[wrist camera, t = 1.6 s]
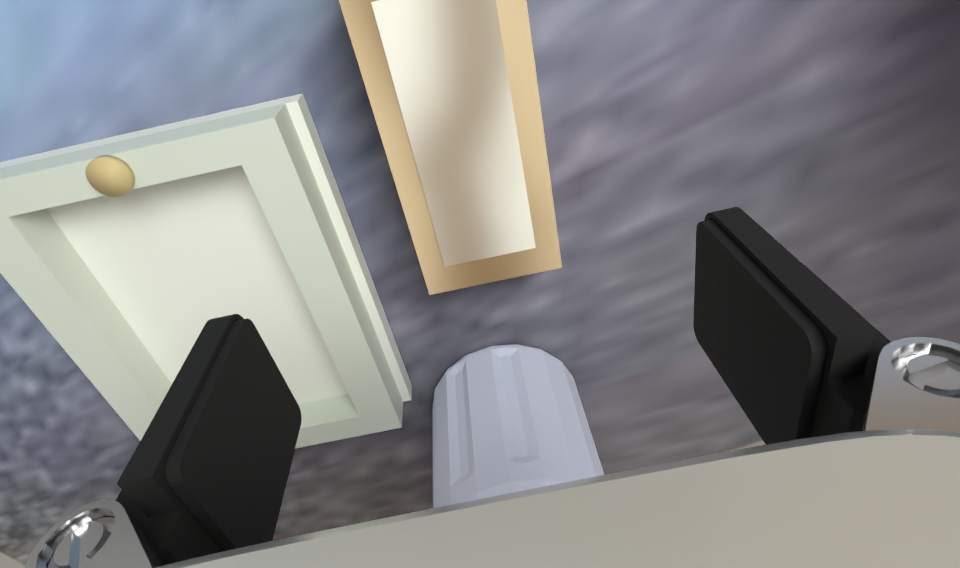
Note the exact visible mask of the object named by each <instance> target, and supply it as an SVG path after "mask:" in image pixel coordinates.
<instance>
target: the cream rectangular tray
mask: <svg viewBox="0 0 960 568" xmlns="http://www.w3.org/2000/svg"><path fill="white" fill-rule="evenodd" d="M0 273H1V274H2V275H3V277H4V278H5V279H6V280H7V281H8V283H9V284H10V285H11V286H12V287H13V289H14V290H15V291H16V292H17V293H18V295H19V296H20V297H21V298H22V299H23V301H24V302H25V303H26V304H27V305H28V307H29V308H30V309H31V310H32V311H33V313H34V314H35V315H36V316H37V317H38V319H39V320H40V321H41V322H42V323H43V325H44V326H45V327H46V328H47V329H48V331H49V332H50V333H51V334H52V335H53V337H54V338H55V339H56V340H57V341H58V343H59V344H60V345H61V346H62V347H63V349H64V350H65V351H66V352H67V353H68V355H69V356H70V357H71V358H72V359H73V361H74V362H75V363H76V364H77V365H78V367H79V368H80V369H81V370H82V371H83V373H84V374H85V375H86V376H87V377H88V379H89V380H90V381H91V382H92V384H93V385H94V386H95V387H96V388H97V390H98V391H99V392H100V393H101V394H102V396H103V397H104V398H105V399H106V400H107V402H108V403H109V404H110V405H111V406H112V408H113V409H114V410H115V411H116V412H117V414H118V415H119V416H120V417H121V418H122V420H123V421H124V422H125V423H126V424H127V426H128V427H129V428H130V429H131V430H132V432H133V433H134V434H135V435H136V436H137V438H138V439H139V440H140V441H141V439H142V437H143V436H144V434H145V432H146V430H147V428H148V427H149V425H150V423H151V421H152V419H153V418H154V416H155V414H156V412H157V410H158V409H159V407H160V405H161V403H162V401H163V400H164V398H165V396H166V394H167V392H168V391H169V389H170V387H171V385H172V383H173V381H174V380H175V378H176V376H177V374H178V372H179V371H180V369H181V367H182V365H183V363H184V362H185V360H186V358H187V356H188V354H189V353H190V351H191V349H192V347H193V345H194V344H195V342H196V340H197V338H198V336H199V335H200V333H201V331H202V329H203V327H204V326H205V324H206V322H207V321H208V320H210V319H214V318H219V317H223V316H228V315H233V314H239V315H241V316H242V317H243V318H244V319H250V320H251V321H252V322H253V323H254V325H255V327H256V329H257V330H258V332H259V334H260V336H261V338H262V340H263V341H264V343H265V345H266V347H267V349H268V350H269V352H270V354H271V356H272V358H273V360H274V361H275V363H276V365H277V367H278V369H279V371H280V372H281V374H282V376H283V378H284V380H285V381H286V383H287V385H288V387H289V389H290V391H291V392H292V394H293V396H294V398H295V400H296V402H297V403H298V405H299V407H300V411H301V416H302V421H301V426H300V430H299V434H298V438H297V443H296V447H295V448H300V447H305V446H311V445H316V444H321V443H326V442H331V441H336V440H341V439H346V438H351V437H356V436H361V435H366V434H371V433H377V432H382V431H387V430H392V429H397V428H402V417H403V402H405V401H410V400H411V399H412V385H411V382H410V379H409V377H408V374H407V371H406V369H405V366H404V363H403V361H402V358H401V355H400V352H399V350H398V347H397V344H396V342H395V339H394V336H393V334H392V331H391V328H390V326H389V323H388V320H387V318H386V315H385V312H384V310H383V307H382V304H381V302H380V299H379V296H378V293H377V291H376V288H375V285H374V283H373V280H372V277H371V275H370V272H369V269H368V267H367V264H366V261H365V259H364V256H363V253H362V251H361V248H360V245H359V243H358V240H357V237H356V234H355V232H354V229H353V226H352V224H351V221H350V218H349V216H348V213H347V210H346V208H345V205H344V202H343V200H342V197H341V194H340V192H339V189H338V186H337V183H336V181H335V178H334V175H333V173H332V170H331V167H330V165H329V162H328V159H327V157H326V154H325V151H324V149H323V146H322V143H321V141H320V138H319V135H318V133H317V130H316V127H315V124H314V122H313V119H312V116H311V114H310V111H309V108H308V106H307V103H306V100H305V98H304V95H303V93H302V94H298V95H294V96H289V97H285V98H280V99H276V100H272V101H267V102H263V103H258V104H254V105H250V106H245V107H241V108H236V109H232V110H228V111H223V112H219V113H214V114H210V115H206V116H201V117H197V118H192V119H188V120H184V121H179V122H175V123H170V124H166V125H162V126H157V127H153V128H148V129H144V130H140V131H135V132H131V133H126V134H122V135H118V136H113V137H109V138H104V139H100V140H96V141H91V142H87V143H82V144H78V145H74V146H69V147H65V148H60V149H56V150H52V151H47V152H43V153H38V154H34V155H30V156H25V157H21V158H16V159H12V160H8V161H3V162H0Z"/></svg>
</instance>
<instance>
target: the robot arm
mask: <svg viewBox="0 0 960 568" xmlns="http://www.w3.org/2000/svg"><path fill="white" fill-rule="evenodd" d="M694 331H695V335H696V338H697V340H698V342H699V344H700V345H701V347H702V348H703V350H704V351H705V353H706V354H707V356H708V357H709V359H710V360H711V362H712V363H713V365H714V366H715V368H716V370H717V371H718V373H719V374H720V376H721V377H722V379H723V380H724V382H725V383H726V385H727V386H728V388H729V389H730V391H731V392H732V394H733V395H734V397H735V398H736V400H737V401H738V403H739V404H740V406H741V408H742V409H743V411H744V412H745V414H746V415H747V417H748V418H749V420H750V421H751V423H752V424H753V426H754V427H755V429H756V430H757V432H758V433H759V435H760V436H761V438H762V439H763V441H764V442H765V444H766V445H763V446H757V447H752V448H745V449H740V450H734V451H728V452H722V453H717V454H711V455H706V456H700V457H695V458H690V459H685V460H679V461H674V462H669V463H664V464H658V465H653V466H648V467H643V468H638V469H632V470H627V471H622V472H617V473H611V474H606V475H601V476H596V477H590V478H585V479H580V480H575V481H570V482H564V483H559V484H554V485H549V486H544V487H539V488H534V489H529V490H524V491H518V492H513V493H508V494H503V495H498V496H493V497H488V498H483V499H478V500H473V501H468V502H463V503H457V504H452V505H447V506H442V507H437V508H432V509H427V510H422V511H417V512H412V513H407V514H402V515H397V516H392V517H387V518H382V519H377V520H372V521H367V522H362V523H357V524H353V525H348V526H343V527H338V528H333V529H328V530H323V531H318V532H313V533H308V534H303V535H298V536H293V537H288V538H283V539H278V540H274V541H272V539H273V535H274V531H275V527H276V523H277V519H278V515H279V511H280V507H281V503H282V499H283V495H284V491H285V487H286V483H287V479H288V475H289V471H290V467H291V463H292V459H293V455H294V451H295V447H296V443H297V438H298V434H299V430H300V426H301V421H302V416H301V411H300V407H299V405H298V403H297V402H296V400H295V398H294V396H293V394H292V392H291V391H290V389H289V387H288V385H287V383H286V381H285V380H284V378H283V376H282V374H281V372H280V371H279V369H278V367H277V365H276V363H275V361H274V360H273V358H272V356H271V354H270V352H269V350H268V349H267V347H266V345H265V343H264V341H263V340H262V338H261V336H260V334H259V332H258V330H257V329H256V327H255V325H254V323H253V322H252V321H251V320H250V319H244V318H243V317H242V316H241V315H239V314H233V315H228V316H223V317H219V318H214V319H210V320H208V321H207V322H206V324H205V326H204V327H203V329H202V331H201V333H200V335H199V336H198V338H197V340H196V342H195V344H194V345H193V347H192V349H191V351H190V353H189V354H188V356H187V358H186V360H185V362H184V363H183V365H182V367H181V369H180V371H179V372H178V374H177V376H176V378H175V380H174V381H173V383H172V385H171V387H170V389H169V391H168V392H167V394H166V396H165V398H164V400H163V401H162V403H161V405H160V407H159V409H158V410H157V412H156V414H155V416H154V418H153V419H152V421H151V423H150V425H149V427H148V428H147V430H146V432H145V434H144V436H143V437H142V439H141V441H140V443H139V445H138V446H137V448H136V450H135V452H134V454H133V455H132V457H131V459H130V461H129V463H128V465H127V466H126V468H125V470H124V472H123V474H122V475H121V477H120V479H119V481H118V483H117V484H118V486H119V487H120V488H121V489H122V490H121V492H120V494H119V496H118V498H117V500H116V501H113V500H109V499H108V500H100V501H95V502H92V503H90V504H87V505H84V506H82V507H80V508H78V509H77V510H75V511H73V512H71V513H70V514H68V515H67V516H65V517H64V518H63V519H61V520H60V521H59V522H58V523H56V524H55V525H54V526H53V527H52V528H51V529H50V530H49V531H48V532H47V533H46V534H45V535H44V536H43V537H42V538H41V539H40V540H39V542H38V543H37V545H36V546H35V547H34V549H33V550H32V552H31V553H30V556H29V558H28V561H27V563H26V565H25V568H960V344H958V343H955V342H951V341H947V340H944V339H939V338H930V337H906V338H902V339H898V340H895V341H892V342H890V341H889V340H888V339H887V338H886V337H885V336H883V335H882V334H881V333H880V332H879V331H878V330H877V329H876V328H874V327H873V326H872V325H871V324H870V323H869V322H868V321H867V320H865V319H864V318H863V317H862V316H861V315H860V314H859V313H858V312H856V311H855V310H854V309H853V308H852V307H851V306H850V305H849V304H847V303H846V302H845V301H844V300H843V299H842V298H841V297H840V296H839V295H837V294H836V293H835V292H834V291H833V290H832V289H831V288H830V287H828V286H827V285H826V284H825V283H824V282H823V281H822V280H821V279H819V278H818V277H817V276H816V275H815V274H814V273H813V272H812V271H810V270H809V269H808V268H807V267H806V266H805V265H803V264H802V263H801V262H800V261H799V260H798V259H796V258H795V257H794V256H793V255H792V254H791V253H790V252H789V251H787V250H786V249H785V248H784V247H783V246H782V245H781V244H780V243H778V242H777V241H776V240H775V239H774V238H773V237H772V236H771V235H770V234H768V233H767V232H766V231H765V230H764V229H763V228H762V227H761V226H759V225H758V224H757V223H756V222H755V221H754V220H753V219H752V218H750V217H749V216H748V215H747V214H746V213H745V212H744V211H743V210H742V209H740V208H738V207H734V208H729V209H725V210H720V211H715V212H711V213H708V214H707V215H706V217H705V221H702V222H699V223H698V225H697V233H696V265H695V297H694Z"/></svg>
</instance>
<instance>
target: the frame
mask: <svg viewBox="0 0 960 568" xmlns="http://www.w3.org/2000/svg"><path fill="white" fill-rule="evenodd" d="M339 3H340V6H341V9H342V13H343V16H344V19H345V22H346V26H347V29H348V32H349V35H350V39H351V42H352V45H353V48H354V52H355V55H356V58H357V61H358V65H359V68H360V71H361V74H362V78H363V81H364V84H365V87H366V91H367V94H368V97H369V100H370V104H371V107H372V110H373V113H374V117H375V120H376V123H377V126H378V130H379V133H380V136H381V139H382V143H383V146H384V149H385V152H386V156H387V159H388V162H389V165H390V169H391V172H392V175H393V178H394V182H395V185H396V188H397V191H398V195H399V198H400V201H401V204H402V208H403V211H404V214H405V217H406V221H407V224H408V227H409V230H410V234H411V237H412V240H413V243H414V247H415V250H416V253H417V256H418V260H419V263H420V266H421V269H422V273H423V276H424V279H425V282H426V286H427V289H428V292H429V295H432V294H437V293H442V292H447V291H452V290H457V289H461V288H466V287H471V286H476V285H481V284H485V283H490V282H495V281H500V280H505V279H510V278H514V277H519V276H524V275H529V274H534V273H539V272H543V271H548V270H553V269H558V268H562V264H561V256H560V249H559V241H558V234H557V226H556V219H555V211H554V204H553V196H552V189H551V181H550V174H549V166H548V159H547V151H546V144H545V136H544V129H543V121H542V114H541V106H540V99H539V91H538V84H537V76H536V69H535V61H534V54H533V46H532V39H531V31H530V24H529V16H528V9H527V1H526V0H339Z"/></svg>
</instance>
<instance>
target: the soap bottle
mask: <svg viewBox="0 0 960 568" xmlns="http://www.w3.org/2000/svg"><path fill="white" fill-rule="evenodd" d="M601 475H604V472H603V469H602V466H601V463H600V460H599V457H598V453H597V450H596V447H595V444H594V441H593V438H592V435H591V431H590V428H589V425H588V422H587V419H586V416H585V412H584V409H583V406H582V403H581V400H580V397H579V393H578V390H577V387H576V384H575V381H574V378H573V376H572V375H571V374H570V372H569V371H568V370H567V368H566V367H565V366H564V364H563V363H562V362H561V361H560V360H559V359H557V358H555V357H554V356H552V355H550V354H548V353H547V352H545V351H543V350H541V349H538V348H533V347H528V346H524V345H519V344H511V345H498V346H489V347H487V348H484V349H481V350H478V351H476V352H473V353H470V354H467V355H465V356H464V357H463V358H461V359H460V360H459V361H457V362H456V363H455V364H453V365H452V366H451V367H449V368H448V369H447V371H446V372H445V374H444V375H443V377H442V378H441V380H440V382H439V383H438V385H437V386H436V388H435V392H434V400H433V508H437V507H442V506H447V505H452V504H457V503H463V502H468V501H473V500H478V499H483V498H488V497H493V496H498V495H503V494H508V493H513V492H518V491H524V490H529V489H534V488H539V487H544V486H549V485H554V484H559V483H564V482H570V481H575V480H580V479H585V478H590V477H596V476H601Z"/></svg>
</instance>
